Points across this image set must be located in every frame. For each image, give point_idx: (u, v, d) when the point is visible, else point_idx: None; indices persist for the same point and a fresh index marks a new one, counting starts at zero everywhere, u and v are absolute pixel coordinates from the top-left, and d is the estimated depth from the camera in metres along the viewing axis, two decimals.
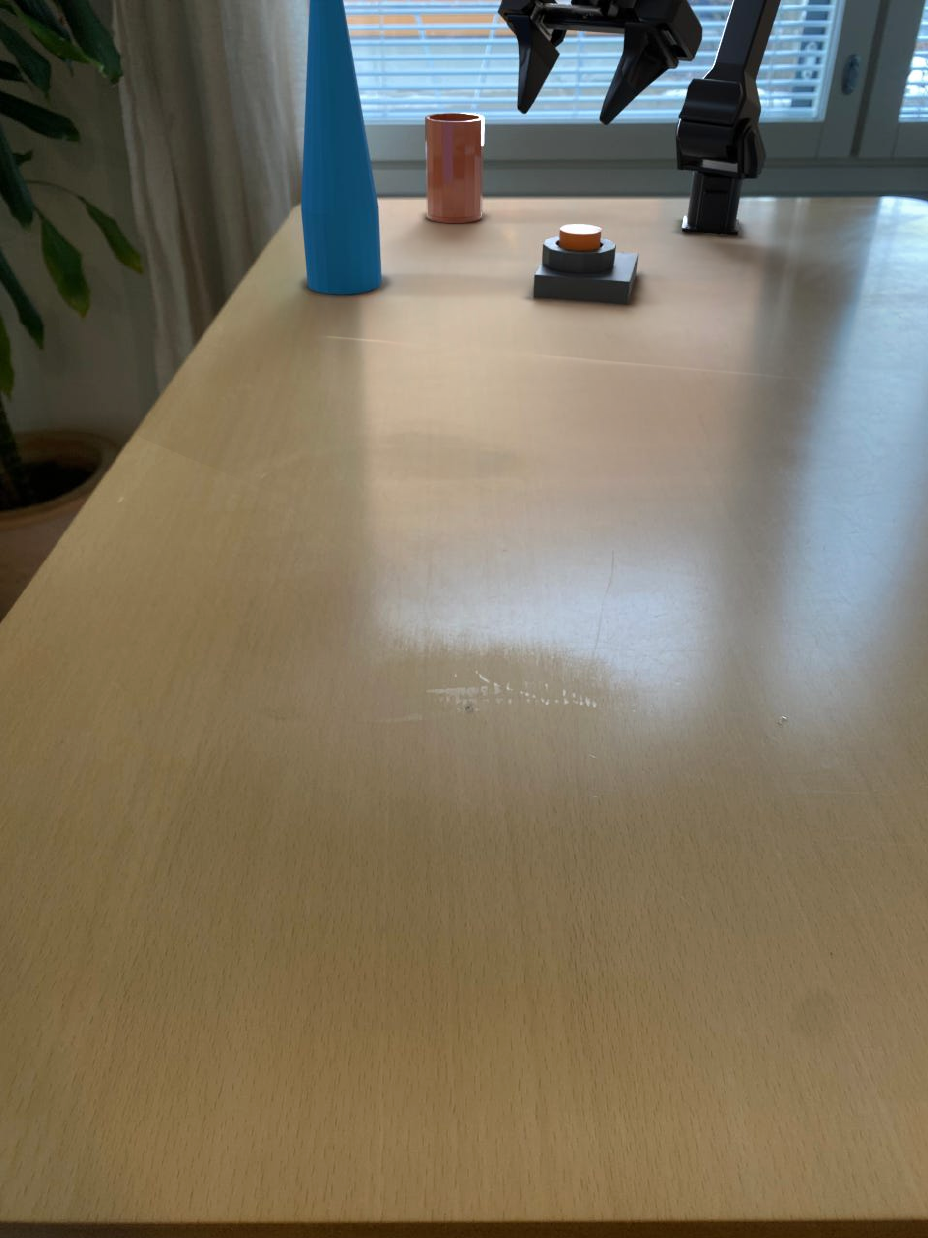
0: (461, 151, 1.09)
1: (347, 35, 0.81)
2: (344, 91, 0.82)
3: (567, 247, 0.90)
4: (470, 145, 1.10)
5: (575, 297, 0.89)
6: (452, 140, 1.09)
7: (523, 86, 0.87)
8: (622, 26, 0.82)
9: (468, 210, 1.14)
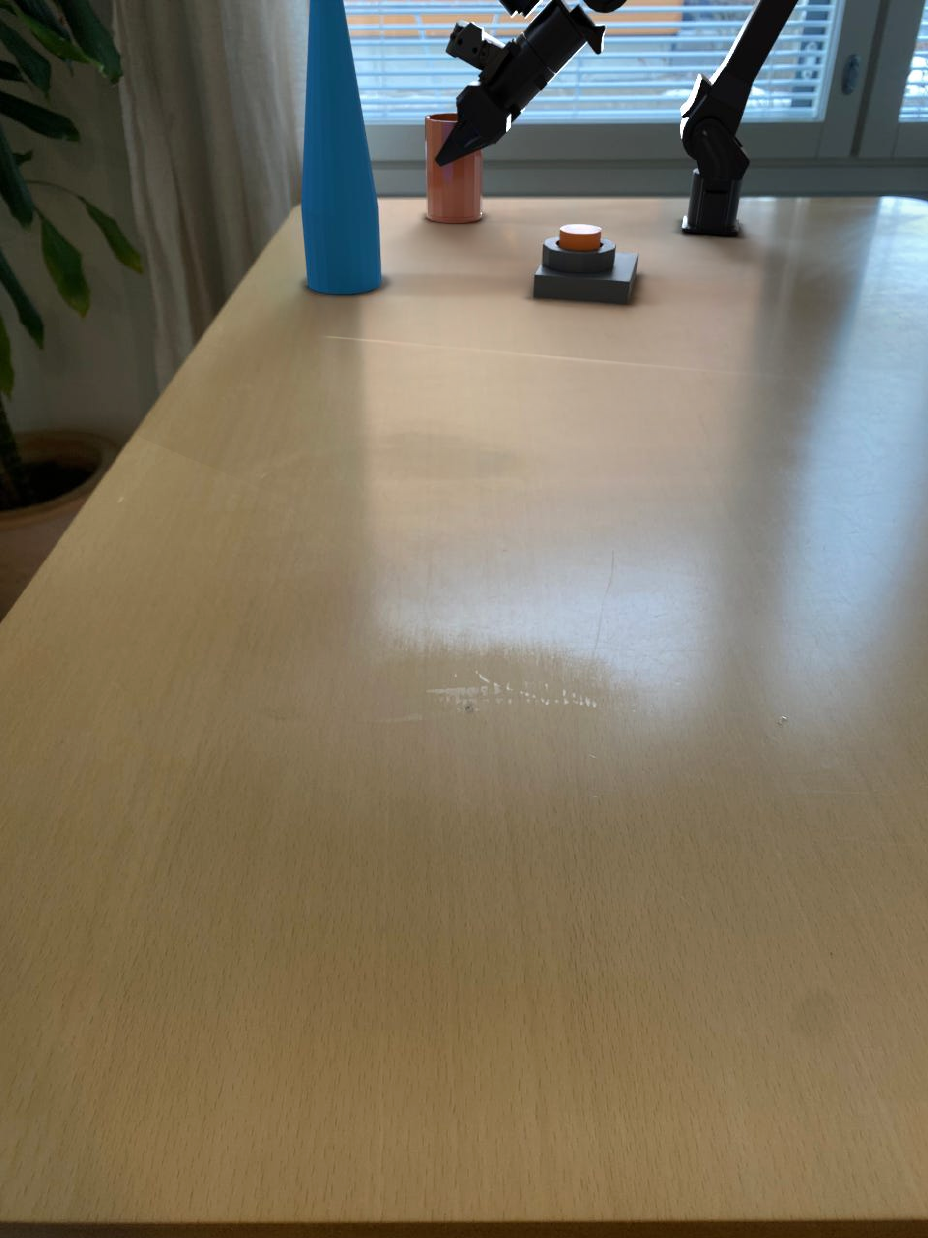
0: None
1: (347, 35, 0.81)
2: (344, 91, 0.82)
3: (567, 247, 0.90)
4: None
5: (575, 297, 0.89)
6: None
7: None
8: None
9: (468, 210, 1.14)
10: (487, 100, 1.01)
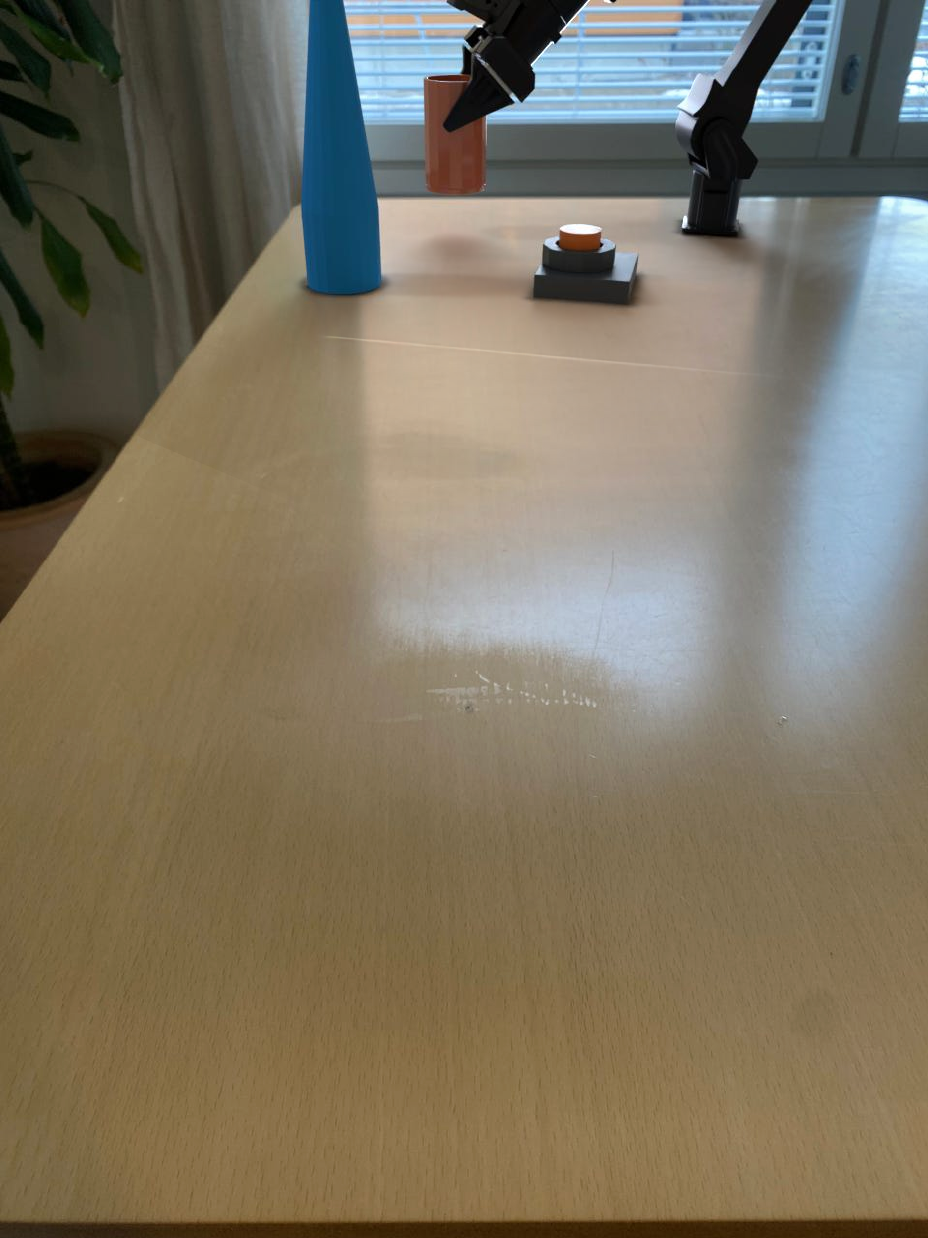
0: None
1: (347, 35, 0.81)
2: (344, 91, 0.82)
3: (567, 247, 0.90)
4: None
5: (575, 297, 0.89)
6: None
7: None
8: None
9: (477, 179, 1.05)
10: (515, 54, 0.93)
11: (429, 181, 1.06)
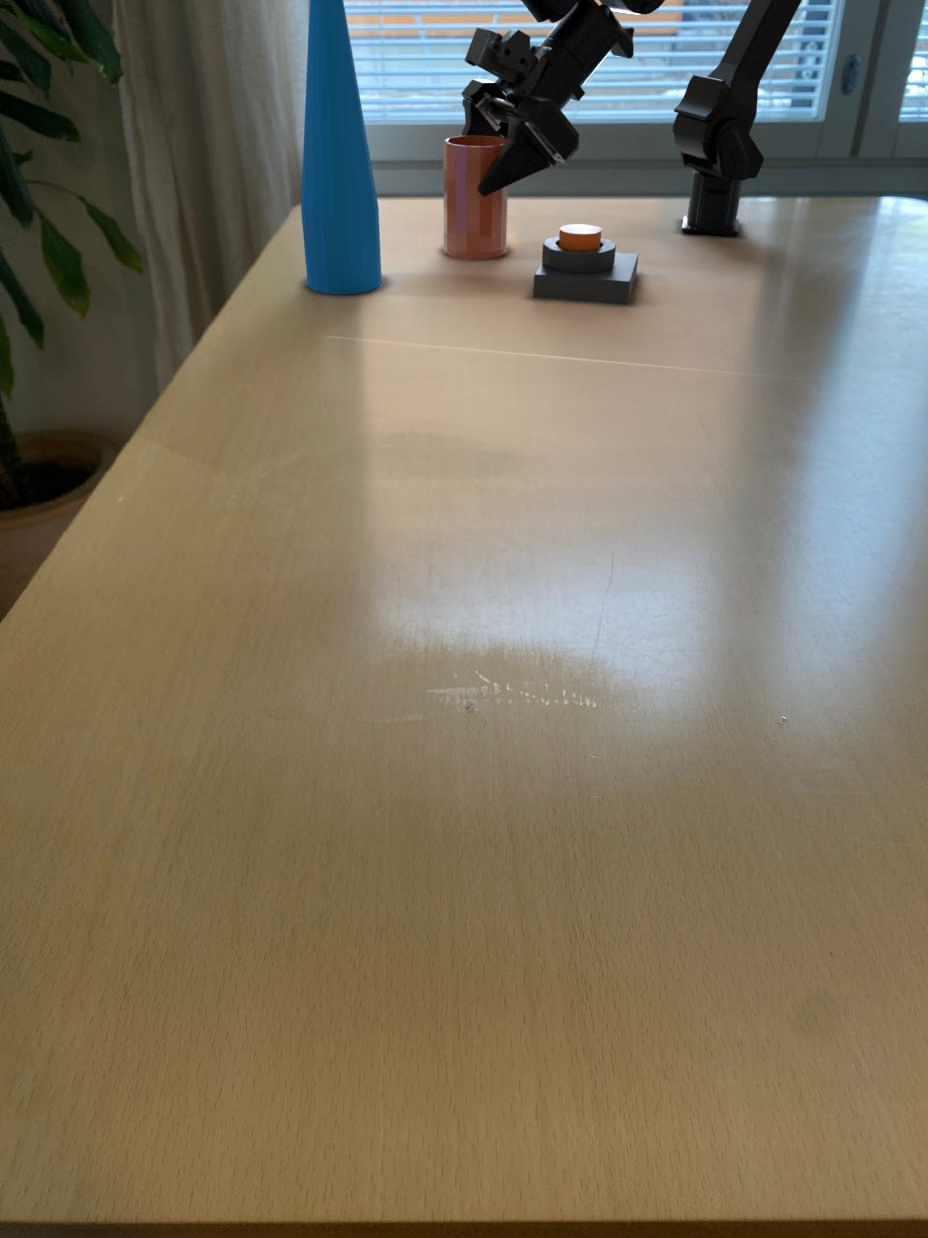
0: None
1: (347, 35, 0.81)
2: (344, 91, 0.82)
3: (567, 247, 0.90)
4: None
5: (575, 297, 0.89)
6: None
7: None
8: (524, 123, 0.95)
9: (503, 242, 1.02)
10: (562, 115, 0.90)
11: (453, 247, 1.01)
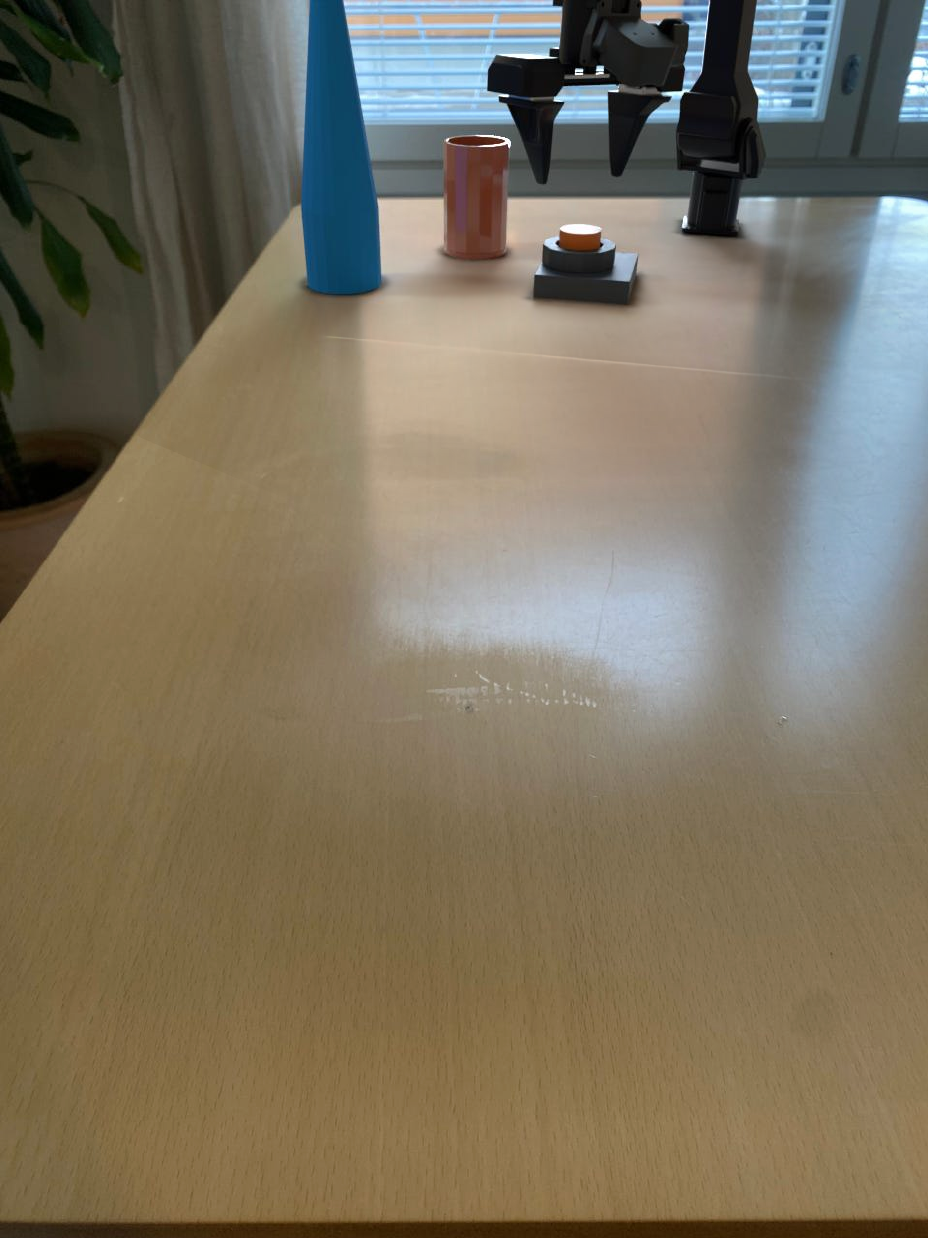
0: (499, 178, 0.97)
1: (347, 35, 0.81)
2: (344, 91, 0.82)
3: (567, 247, 0.90)
4: (506, 170, 0.98)
5: (575, 297, 0.89)
6: (491, 167, 0.96)
7: (548, 163, 0.85)
8: (617, 82, 0.85)
9: (503, 242, 1.02)
10: None
11: (453, 247, 1.01)
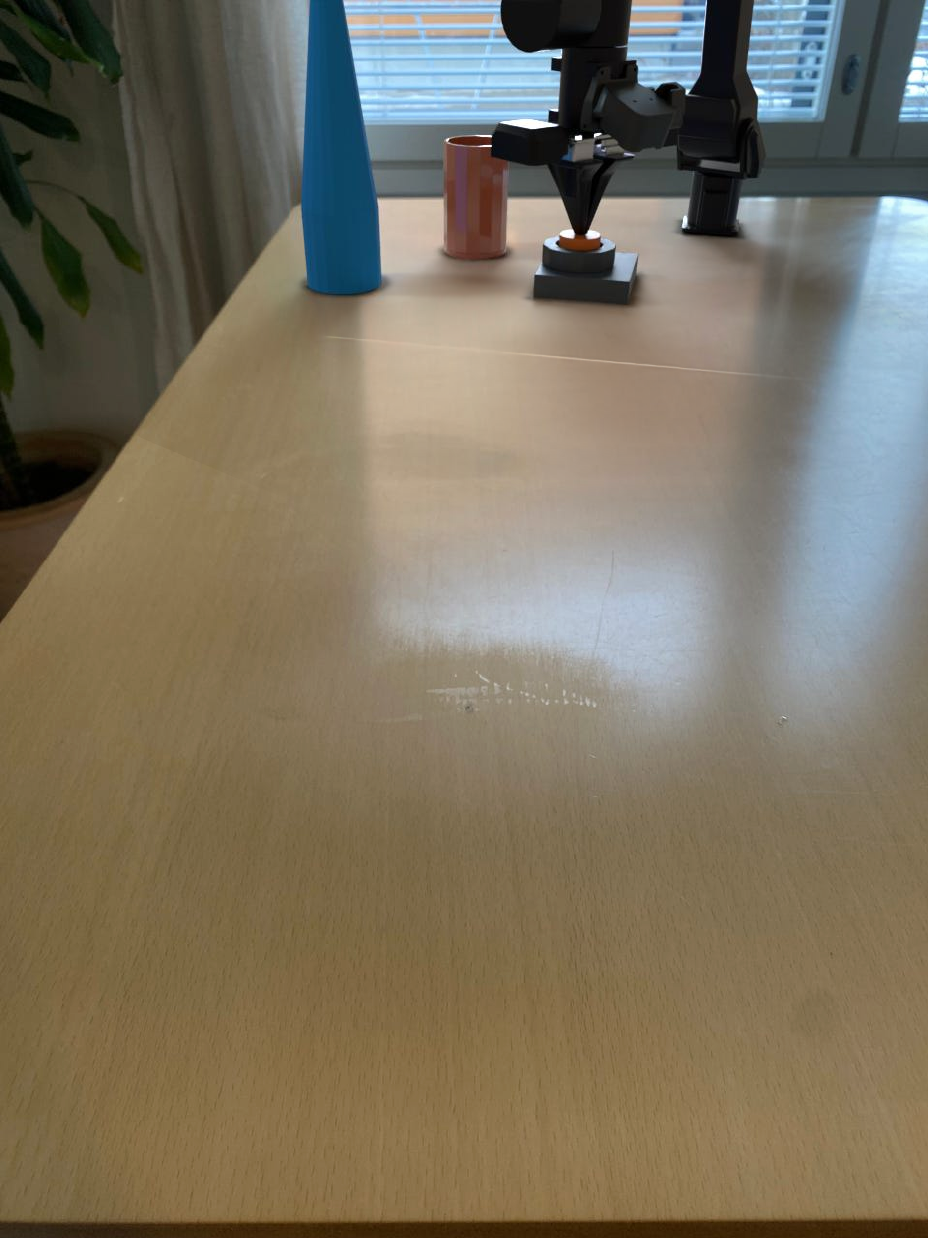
0: (499, 178, 0.97)
1: (347, 35, 0.81)
2: (344, 91, 0.82)
3: None
4: (506, 170, 0.98)
5: (575, 297, 0.89)
6: (491, 167, 0.96)
7: (586, 215, 0.89)
8: None
9: (503, 242, 1.02)
10: None
11: (453, 247, 1.01)
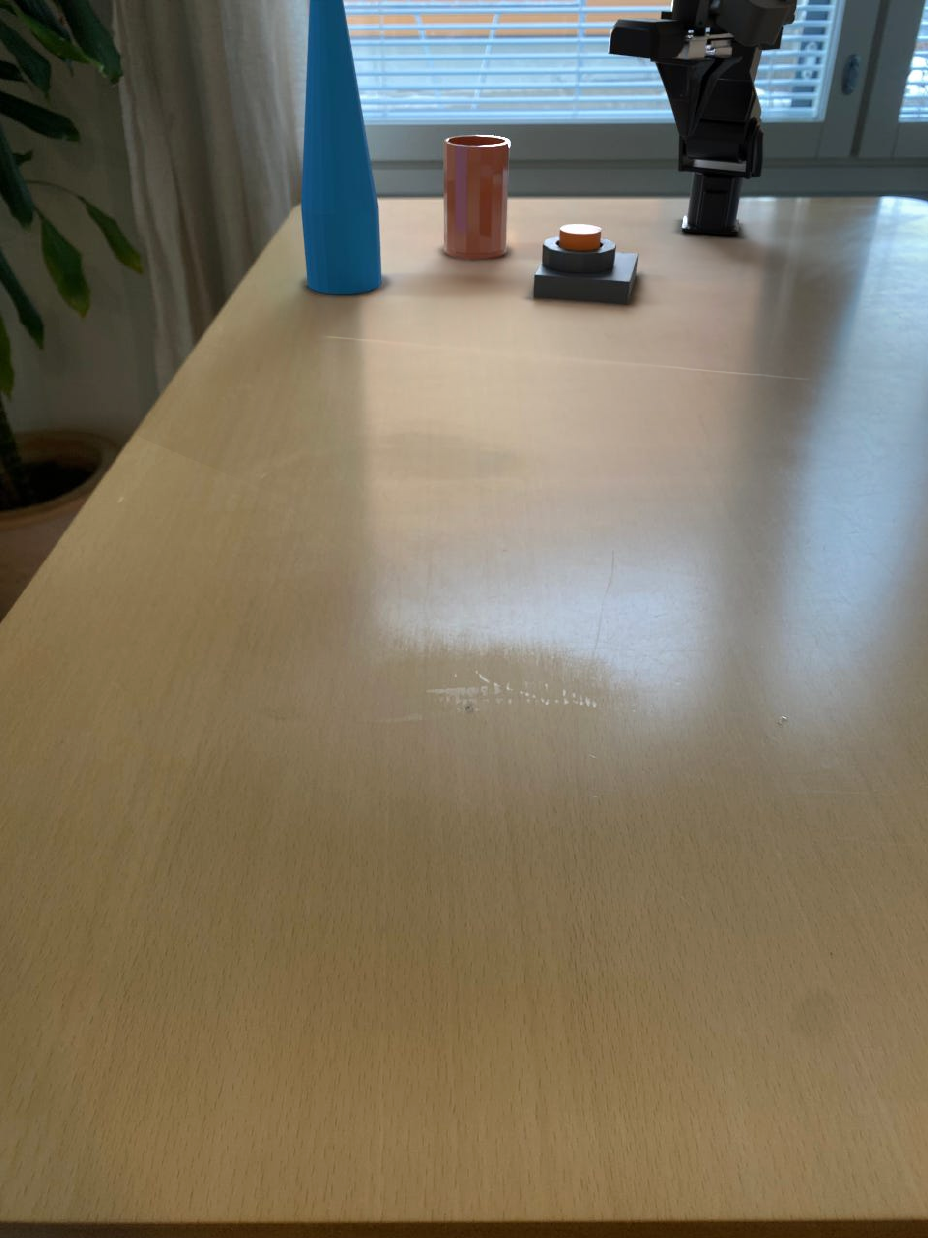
0: (499, 178, 0.97)
1: (347, 35, 0.81)
2: (344, 91, 0.82)
3: (567, 247, 0.90)
4: (506, 170, 0.98)
5: (575, 297, 0.89)
6: (491, 167, 0.96)
7: (693, 116, 0.93)
8: None
9: (503, 242, 1.02)
10: None
11: (453, 247, 1.01)
